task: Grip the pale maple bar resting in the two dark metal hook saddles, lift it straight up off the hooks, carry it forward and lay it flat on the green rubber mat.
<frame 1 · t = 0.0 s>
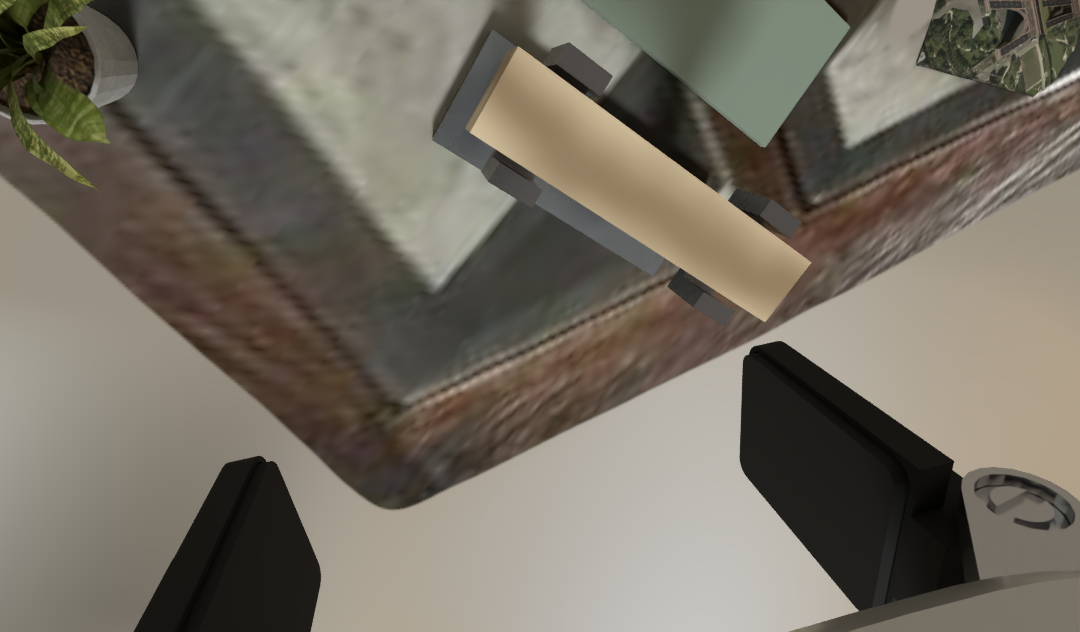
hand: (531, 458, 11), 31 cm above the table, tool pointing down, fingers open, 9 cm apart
house plant: (116, 61, 32), on the table
maple rail: (638, 194, 29), point 12 cm above the table, touching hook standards
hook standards: (577, 165, 40), on the table
eiffel tower figurine: (1004, 17, 43), on the table
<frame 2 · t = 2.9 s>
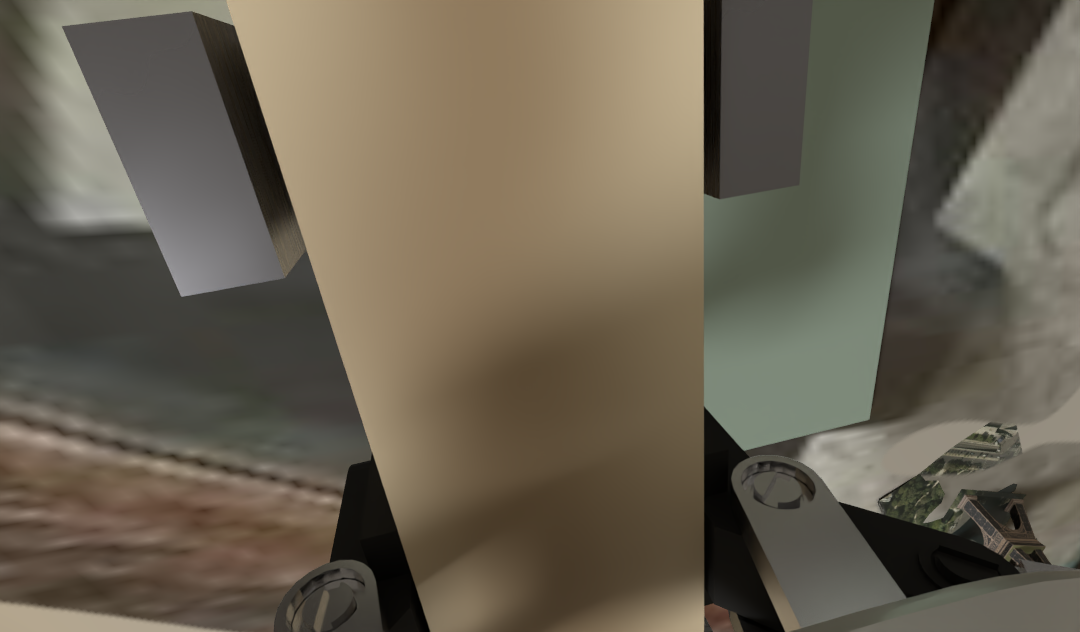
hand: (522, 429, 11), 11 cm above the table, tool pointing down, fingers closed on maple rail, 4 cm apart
maple rail: (533, 467, 10), point 12 cm above the table, touching gripper, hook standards
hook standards: (476, 270, 21), on the table
rubber mat: (792, 211, 23), on the table
eiffel tower figurine: (955, 521, 35), on the table
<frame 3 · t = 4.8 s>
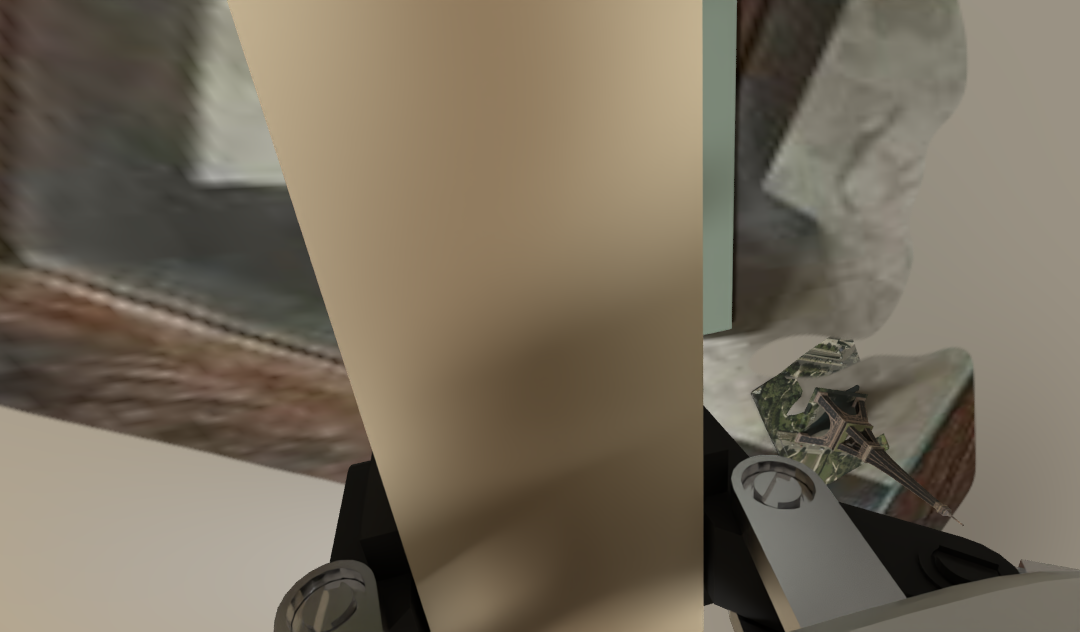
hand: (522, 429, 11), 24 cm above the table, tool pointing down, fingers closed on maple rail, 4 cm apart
maple rail: (533, 467, 10), point 26 cm above the table, touching gripper
rubber mat: (660, 179, 36), on the table
eiffel tower figurine: (818, 416, 48), on the table
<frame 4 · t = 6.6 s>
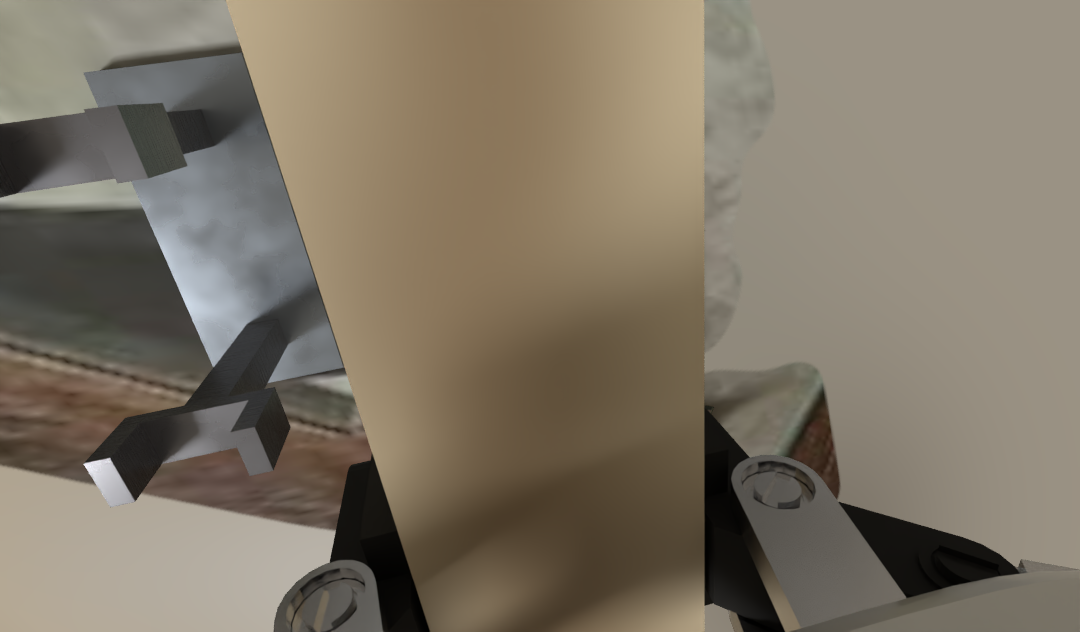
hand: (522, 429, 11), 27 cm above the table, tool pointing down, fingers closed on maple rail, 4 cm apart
maple rail: (534, 469, 10), point 28 cm above the table, touching gripper
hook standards: (238, 236, 34), on the table
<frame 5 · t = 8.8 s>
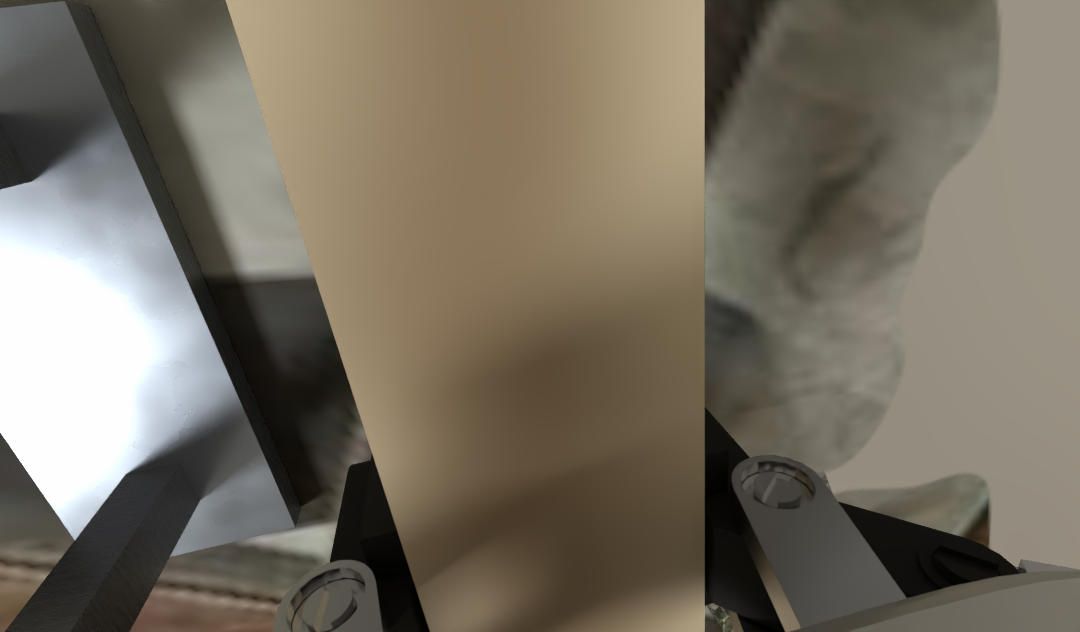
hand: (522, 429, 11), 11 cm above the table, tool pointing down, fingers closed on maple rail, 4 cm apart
maple rail: (534, 470, 10), point 12 cm above the table, touching gripper
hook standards: (103, 330, 20), on the table
eiffel tower figurine: (771, 560, 33), on the table
when the fingers open (1 cm above the table, at t = 10.7 s): maple rail drops 2 cm, resting on rubber mat.
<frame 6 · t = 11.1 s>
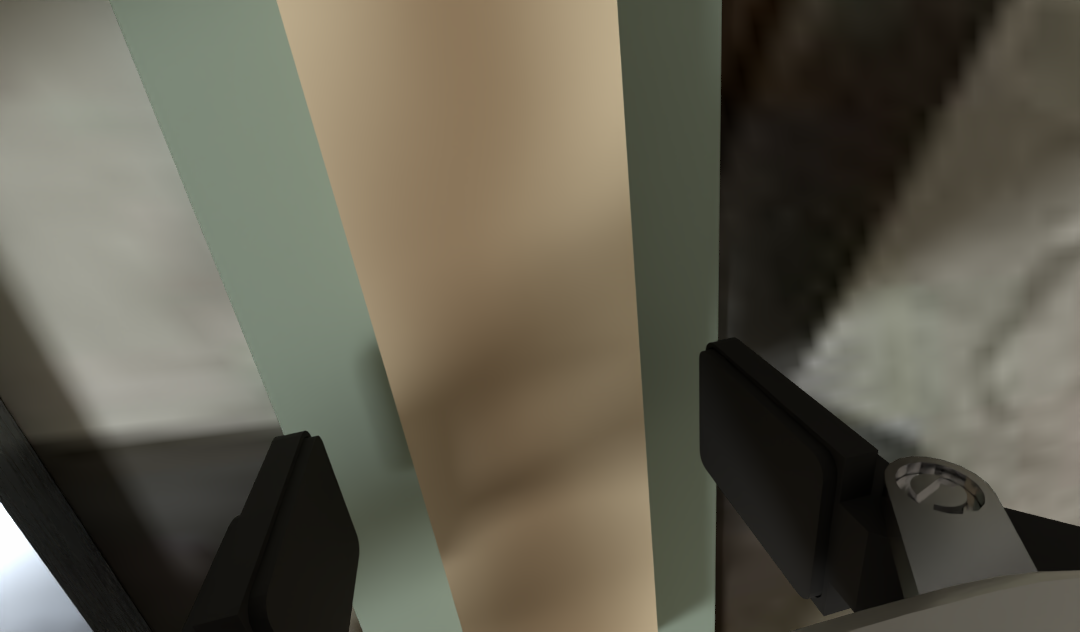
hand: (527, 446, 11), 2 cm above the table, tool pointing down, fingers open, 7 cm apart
maple rail: (516, 406, 12), point 1 cm above the table, touching rubber mat
rubber mat: (512, 393, 13), on the table
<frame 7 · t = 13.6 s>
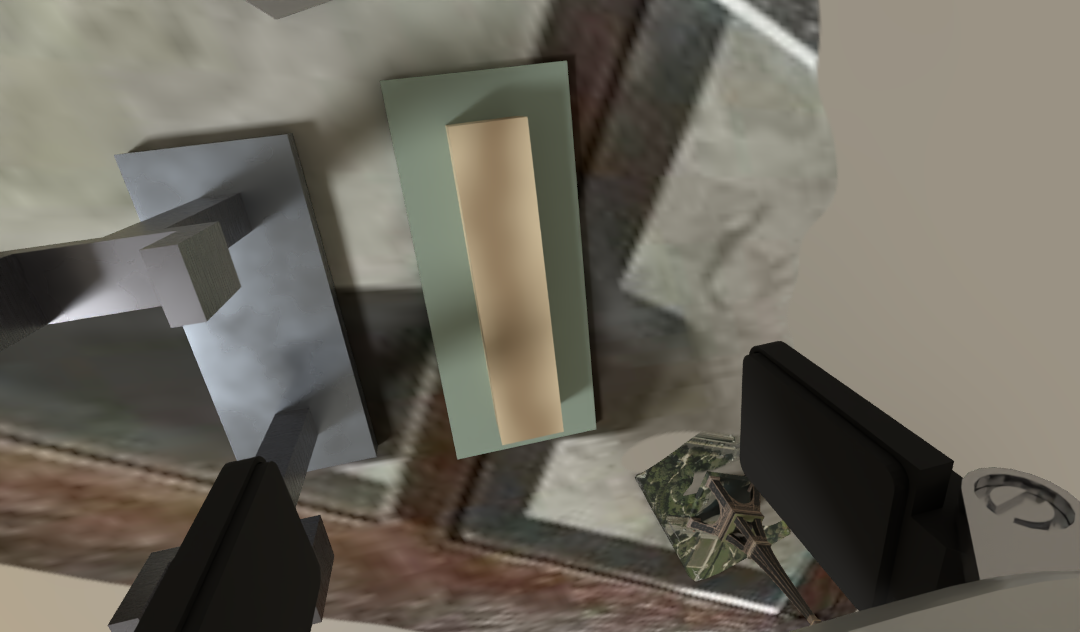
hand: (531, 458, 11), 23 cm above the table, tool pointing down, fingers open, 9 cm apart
maple rail: (505, 283, 33), point 1 cm above the table, touching rubber mat
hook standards: (270, 320, 31), on the table
rubber mat: (504, 280, 33), on the table
eiffel tower figurine: (713, 499, 45), on the table
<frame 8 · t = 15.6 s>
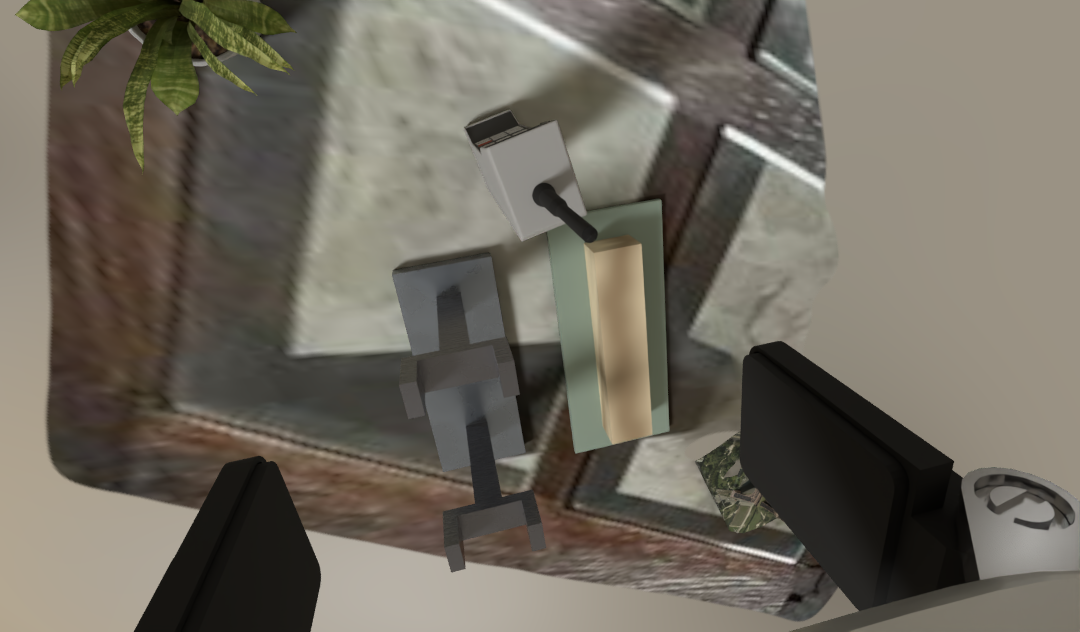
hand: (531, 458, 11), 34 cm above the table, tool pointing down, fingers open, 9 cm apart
house plant: (236, 31, 35), on the table
maple rail: (614, 337, 49), point 1 cm above the table, touching rubber mat
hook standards: (464, 366, 48), on the table
rubber mat: (612, 335, 50), on the table
eiffel tower figurine: (749, 477, 61), on the table
vintage mobile phone: (497, 149, 41), on the table
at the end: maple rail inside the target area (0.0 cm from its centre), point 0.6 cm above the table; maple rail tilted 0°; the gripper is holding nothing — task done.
